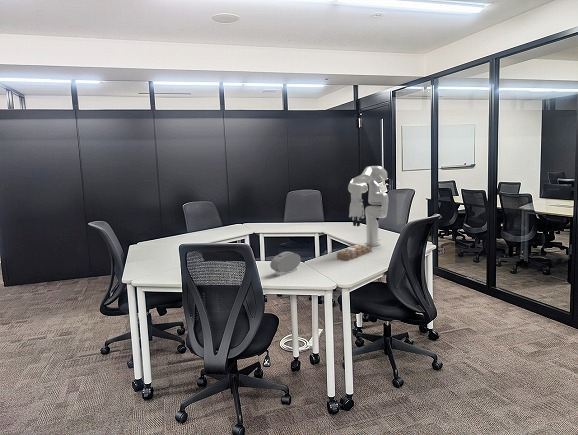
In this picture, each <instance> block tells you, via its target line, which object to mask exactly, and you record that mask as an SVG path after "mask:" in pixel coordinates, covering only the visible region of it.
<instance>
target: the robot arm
mask: <svg viewBox="0 0 578 435" xmlns="http://www.w3.org/2000/svg"><path fill="white" fill-rule="evenodd" d="M387 179H388V171H387V170H386V169H385V168H384V167H383V166H380V165H371V166H365V167H364V170H363V171H362V173H361V174H360V175H358V176H356V177H354V178H352V179H351V180H350V182H349V183H348V185H347V190H348V192H349V193H350V203H349V208H348V210H349V214H348V217H349V218H350V219H351V220H352V226H353V227H360V226H361V220H362V219H364V218H365V223H366V226H365V227H366V228H365V229H366V230H365V231H366V237H365V238H366V241H365V242H364V244H366V245H367V246H371V247H378V246H380V245H381V242H379V241H381V238H379V221H378V220H377V219H378V218H379V219H384V218H387V216H388V209H389V196H388V193H386V192H381V187H380V184H379V183H378V182H385V181H386V180H387ZM367 192H368V197H367V198H368V200H367V201H368V204H370V205H367V206H365V209H364V203H363V202H364V199H362V194H365V193H367ZM356 218H357V220H356Z"/></svg>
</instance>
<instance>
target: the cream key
mask: <svg viewBox="0 0 578 435" xmlns="http://www.w3.org/2000/svg"><path fill="white" fill-rule="evenodd" d="M345 250H346V251H347V252H354V251H356V248H352V247H348V248H346V249H345Z"/></svg>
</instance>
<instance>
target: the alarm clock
mask: <svg viewBox="0 0 578 435" xmlns="http://www.w3.org/2000/svg"><path fill="white" fill-rule="evenodd" d="M301 261H302V259H301V256H300V255H299V254H298V253H294V252H293V251H282V252H281V253H278V254H277V255H275V256H274V257H273V258H272V259H271V260H270V263H269V264H270V265H269V266H270V268H271V270H273V271H274V275H276V276H283V275H286V274H288V273H292V272H295V271H297V270H298V266H299V265H300V263H301Z"/></svg>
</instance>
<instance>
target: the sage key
mask: <svg viewBox="0 0 578 435" xmlns="http://www.w3.org/2000/svg"><path fill="white" fill-rule="evenodd" d="M357 246H362V248H365V247H367V245H366V244H365V243H364V244H363V243H359V244H358V245H357Z"/></svg>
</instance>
